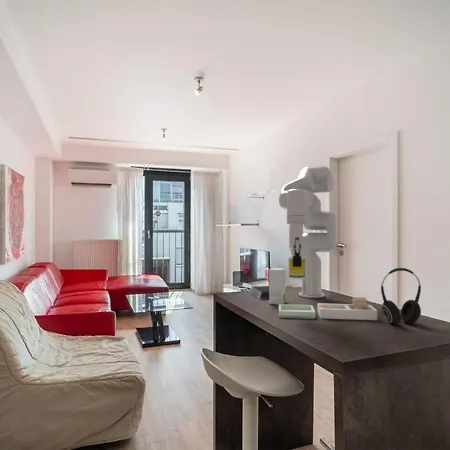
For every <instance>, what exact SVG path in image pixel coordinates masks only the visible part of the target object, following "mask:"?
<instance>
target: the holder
mask: <svg viewBox="0 0 450 450" xmlns="http://www.w3.org/2000/svg"><path fill="white" fill-rule="evenodd" d="M317 313H318V316H319V318H320V319H326V320H327V319H330V320H331V319H332V320H361V321H378V309H376V308H375V307H374V306H372V304H367V310H357V309H353V303H350V304H349V303H348V304H347V303H317Z"/></svg>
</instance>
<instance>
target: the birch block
mask: <svg viewBox="0 0 450 450" xmlns="http://www.w3.org/2000/svg"><path fill="white" fill-rule="evenodd" d="M352 304H353V309H357V310H367V305H368V299H367V298H366V297H364V296H363V297H360V296H357V297H356V296H355V297H353V296H352Z"/></svg>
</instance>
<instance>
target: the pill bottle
mask: <svg viewBox="0 0 450 450" xmlns="http://www.w3.org/2000/svg"><path fill="white" fill-rule="evenodd" d="M302 252H303V251H302V249H301V267H293V256H294V253H293V248H292V249H290V255H288V258H287V259H288V261H287V262H288V271H287V272H288V279H290V280H302V279H304V278H305V257H304V256H303V255H302Z"/></svg>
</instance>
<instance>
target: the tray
mask: <svg viewBox="0 0 450 450" xmlns="http://www.w3.org/2000/svg"><path fill="white" fill-rule="evenodd" d="M278 318H279V319H281V318H282V319H309V320H310V319H311V320H313V319H314V320H316V311H315V308H314V306H313V305H312V304H293V303H292V304H290V303H287V304H286V303H284V304H279V305H278Z"/></svg>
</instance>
